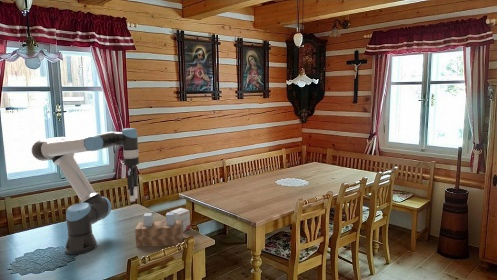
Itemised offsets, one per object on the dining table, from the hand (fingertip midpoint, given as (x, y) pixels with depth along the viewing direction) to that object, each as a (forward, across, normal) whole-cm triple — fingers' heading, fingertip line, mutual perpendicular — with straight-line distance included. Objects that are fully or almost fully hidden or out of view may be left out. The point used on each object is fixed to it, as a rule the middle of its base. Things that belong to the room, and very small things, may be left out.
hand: (133, 199), depth 189 cm
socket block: (+25, 0, -13) cm, 28 cm away
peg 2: (+19, 0, -19) cm, 27 cm away
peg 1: (+19, 0, -7) cm, 20 cm away
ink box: (+25, +17, -22) cm, 37 cm away
